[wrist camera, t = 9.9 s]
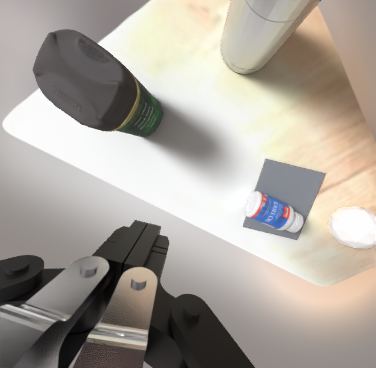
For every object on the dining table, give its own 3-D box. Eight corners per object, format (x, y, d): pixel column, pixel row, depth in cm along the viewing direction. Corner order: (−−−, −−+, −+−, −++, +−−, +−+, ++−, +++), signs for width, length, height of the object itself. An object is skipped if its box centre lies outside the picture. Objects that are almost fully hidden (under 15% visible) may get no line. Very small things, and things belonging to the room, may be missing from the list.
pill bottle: (262, 192, 31) (311, 212, 32) (251, 189, 37) (293, 206, 37) (250, 220, 32) (299, 240, 32) (240, 213, 37) (282, 230, 38)
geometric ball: (323, 221, 40) (321, 246, 35) (338, 192, 36) (339, 216, 31) (366, 235, 37) (372, 266, 31) (390, 206, 32) (401, 235, 27)
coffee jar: (170, 108, 34) (139, 70, 16) (148, 143, 36) (98, 143, 18) (127, 76, 33) (44, -2, 15) (107, 113, 35) (10, 83, 17)
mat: (265, 158, 35) (266, 158, 35) (324, 173, 35) (325, 173, 35) (242, 226, 39) (243, 226, 38) (296, 238, 39) (297, 240, 38)
